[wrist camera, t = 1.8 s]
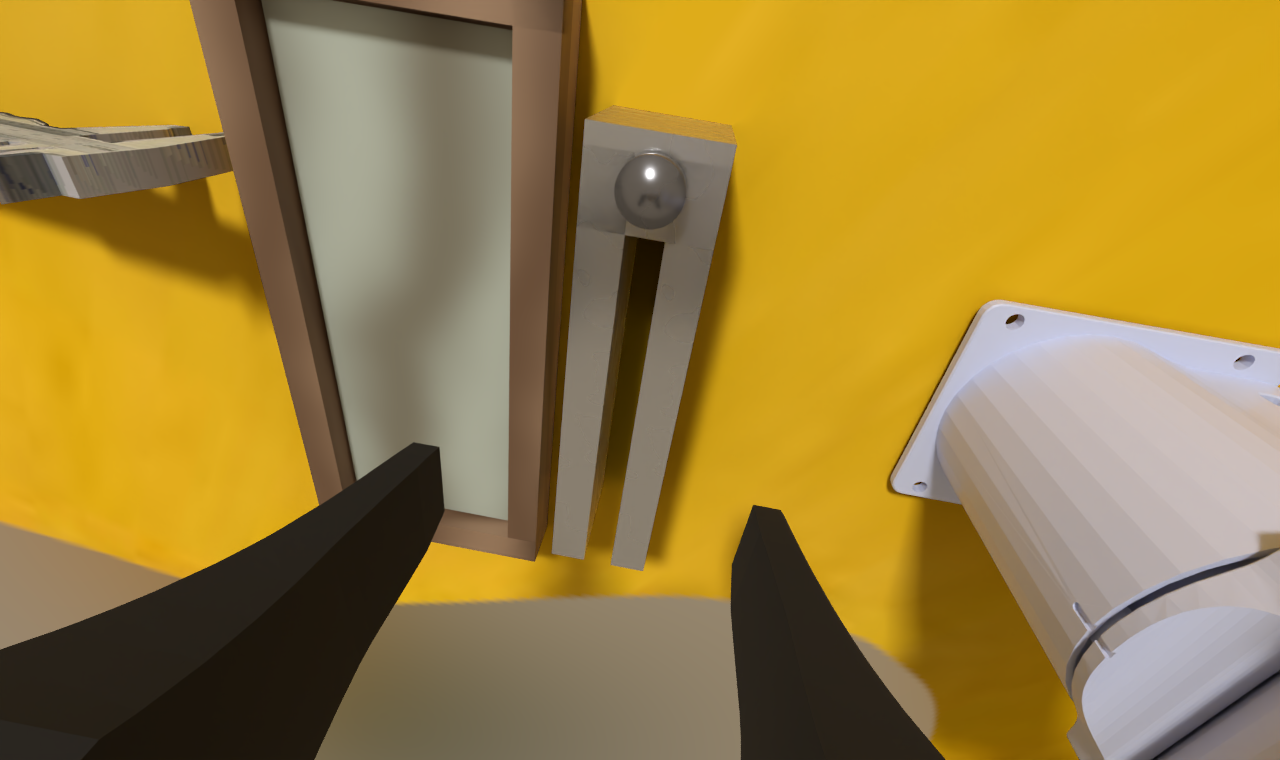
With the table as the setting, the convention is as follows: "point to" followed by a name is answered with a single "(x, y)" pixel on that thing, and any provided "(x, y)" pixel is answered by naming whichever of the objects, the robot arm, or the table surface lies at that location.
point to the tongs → (603, 266)
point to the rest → (410, 232)
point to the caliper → (101, 158)
